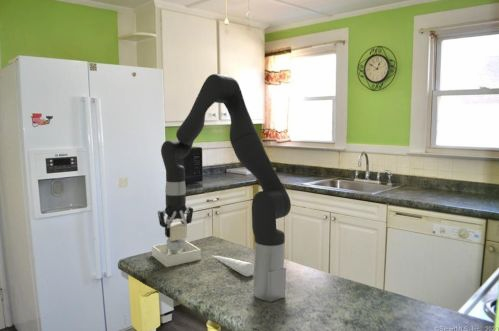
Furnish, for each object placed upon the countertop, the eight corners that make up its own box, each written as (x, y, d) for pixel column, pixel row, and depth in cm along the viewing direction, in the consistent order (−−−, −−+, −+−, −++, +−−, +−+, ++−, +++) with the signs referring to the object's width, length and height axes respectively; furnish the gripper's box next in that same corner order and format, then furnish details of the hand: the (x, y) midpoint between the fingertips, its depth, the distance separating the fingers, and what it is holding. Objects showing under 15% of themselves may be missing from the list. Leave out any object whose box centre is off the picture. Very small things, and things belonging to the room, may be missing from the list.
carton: (186, 238, 149) (186, 225, 149) (172, 240, 146) (171, 227, 145) (179, 234, 154) (179, 221, 153) (165, 236, 151) (165, 224, 150)
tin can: (188, 258, 150) (188, 240, 149) (171, 262, 146) (171, 243, 145) (180, 253, 156) (180, 236, 155) (164, 256, 152) (163, 239, 151)
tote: (200, 260, 149) (200, 249, 149) (166, 268, 141) (166, 256, 141) (184, 250, 161) (184, 239, 160) (152, 257, 153) (151, 245, 152)
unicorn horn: (220, 255, 156) (220, 243, 155) (255, 275, 137) (255, 262, 136) (209, 257, 153) (209, 245, 153) (244, 278, 134) (244, 265, 133)
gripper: (161, 196, 141) (162, 241, 143) (197, 192, 149) (197, 235, 151) (153, 192, 147) (154, 236, 149) (188, 189, 155) (188, 230, 157)
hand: (176, 235), depth 150 cm, fingers closed on carton, 5 cm apart
